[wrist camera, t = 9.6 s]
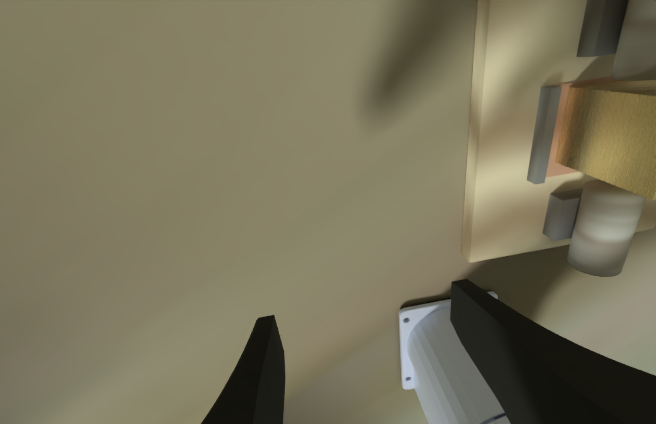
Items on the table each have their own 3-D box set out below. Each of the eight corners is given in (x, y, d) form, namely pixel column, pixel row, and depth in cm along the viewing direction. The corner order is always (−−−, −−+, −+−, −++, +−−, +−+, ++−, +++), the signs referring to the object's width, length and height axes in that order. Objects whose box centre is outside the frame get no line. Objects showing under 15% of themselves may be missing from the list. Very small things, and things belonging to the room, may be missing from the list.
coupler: (614, 152, 20) (732, 186, 15) (554, 161, 20) (652, 200, 15) (635, 77, 18) (779, 85, 13) (569, 87, 18) (688, 99, 13)
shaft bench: (637, 221, 25) (717, 258, 20) (461, 253, 24) (502, 299, 19) (731, -58, 17) (893, -100, 13) (479, -24, 16) (553, -55, 12)
